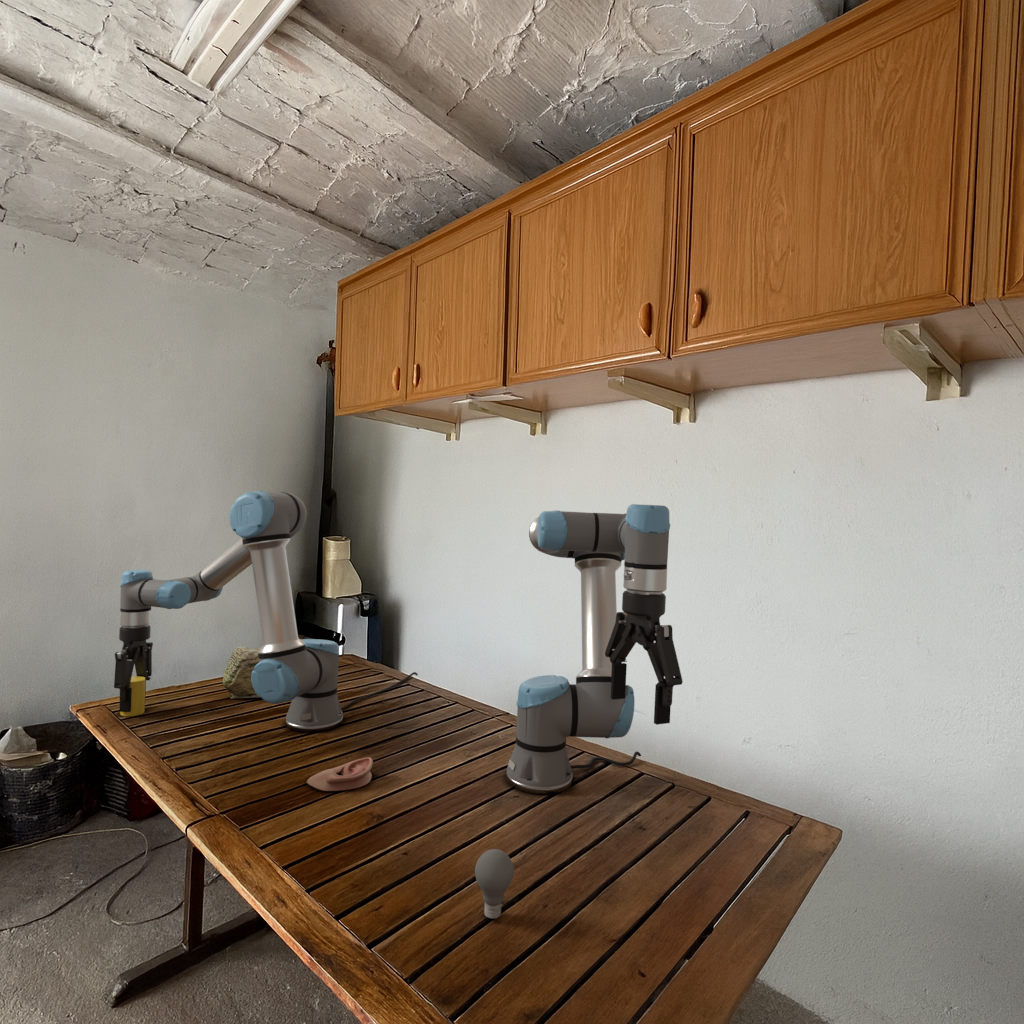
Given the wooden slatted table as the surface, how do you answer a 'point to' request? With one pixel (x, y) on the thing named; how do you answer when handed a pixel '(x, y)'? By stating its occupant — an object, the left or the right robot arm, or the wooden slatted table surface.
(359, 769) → the anatomical model
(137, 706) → the cylinder
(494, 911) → the light bulb
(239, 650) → the fossil
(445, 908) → the wooden slatted table surface
